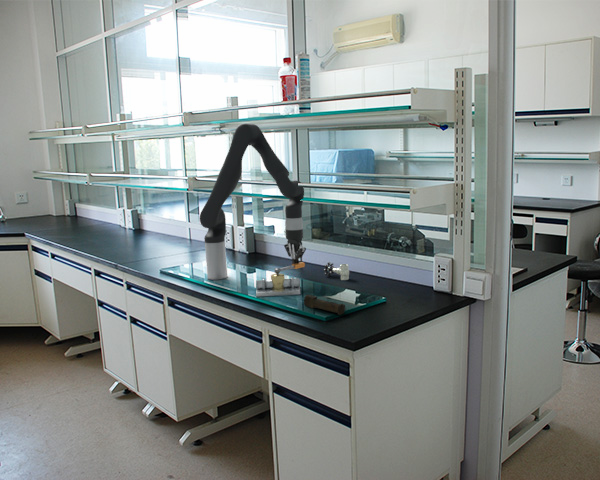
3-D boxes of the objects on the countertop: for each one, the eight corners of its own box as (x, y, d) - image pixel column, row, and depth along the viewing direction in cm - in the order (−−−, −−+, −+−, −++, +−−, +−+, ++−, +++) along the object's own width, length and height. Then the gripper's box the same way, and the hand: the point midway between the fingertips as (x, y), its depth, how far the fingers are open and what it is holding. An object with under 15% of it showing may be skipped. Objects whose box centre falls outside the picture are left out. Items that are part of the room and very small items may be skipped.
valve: (353, 278, 245) (333, 274, 253) (352, 264, 243) (333, 260, 252) (343, 281, 240) (323, 277, 249) (342, 267, 239) (323, 263, 248)
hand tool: (346, 313, 198) (345, 301, 197) (338, 316, 195) (338, 303, 194) (309, 304, 211) (309, 292, 210) (301, 306, 209) (301, 294, 208)
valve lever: (277, 273, 226) (276, 269, 226) (273, 272, 228) (273, 268, 228) (304, 266, 236) (304, 262, 235) (301, 265, 238) (301, 261, 237)
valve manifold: (257, 288, 235) (256, 270, 234) (299, 286, 235) (298, 268, 234) (256, 296, 223) (255, 277, 222) (300, 294, 224) (299, 275, 222)
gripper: (310, 228, 232) (311, 268, 235) (291, 224, 242) (293, 263, 245) (296, 230, 227) (298, 271, 231) (278, 227, 238) (279, 266, 241)
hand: (295, 267), depth 238 cm, fingers closed
